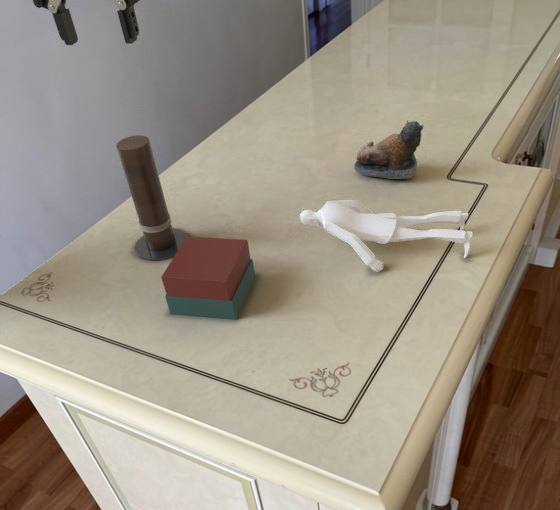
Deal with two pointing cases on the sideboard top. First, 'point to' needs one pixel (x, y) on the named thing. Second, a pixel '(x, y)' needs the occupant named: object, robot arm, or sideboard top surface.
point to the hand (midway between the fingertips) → (101, 42)
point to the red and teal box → (209, 278)
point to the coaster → (151, 255)
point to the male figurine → (381, 227)
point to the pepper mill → (146, 192)
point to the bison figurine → (391, 154)
